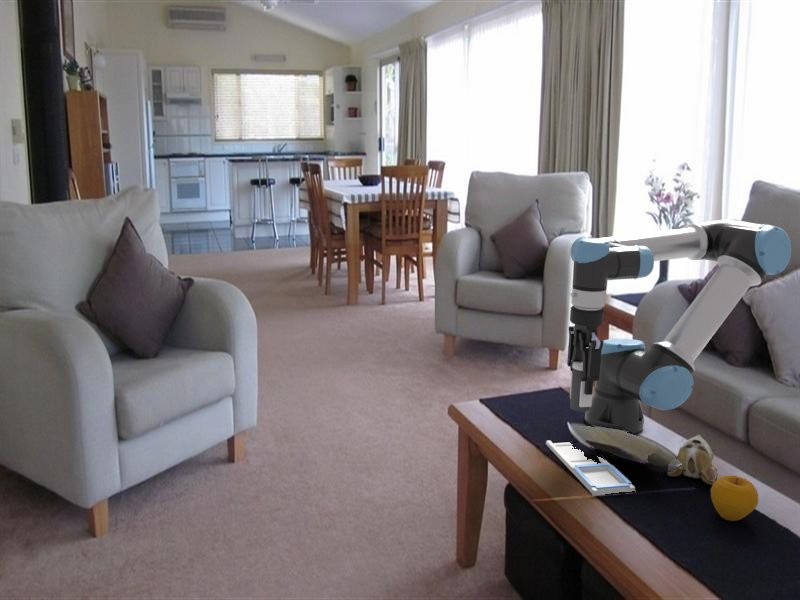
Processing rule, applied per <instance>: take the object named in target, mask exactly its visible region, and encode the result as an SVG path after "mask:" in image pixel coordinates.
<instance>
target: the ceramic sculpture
mask: <svg viewBox="0 0 800 600" xmlns="http://www.w3.org/2000/svg"><path fill="white" fill-rule="evenodd" d="M714 455H715V454H714V453H713V451H712V449H711V446H710V445H709V444H708V442H707V441H706V440H705V439H704V438H703V436H701V435H700V434H697V435H696V436H693V437H691V438H689V439H688V440H686V441H685V442H684V443H683V444H682V446H680V448H679V450H678V454H677V456H676V457H677V458H678V460H679V461H680V462H681V463H682V465H680V466H679V467H678V468H676V469H675V470H673V471H671V472H667V471H666V474H667V476H668V477H679V476H681V475H684V476H685V477H687V476H688V477H689V478H691V477H692V478H693V479H701V480H702V482H704V483H706V484H708V485H711V486H713V483H714V482H715V481H716V480H717V479H718V476H719V474H718V468H716V466H714V465H713V464H712V461H713V460H714Z"/></svg>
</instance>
